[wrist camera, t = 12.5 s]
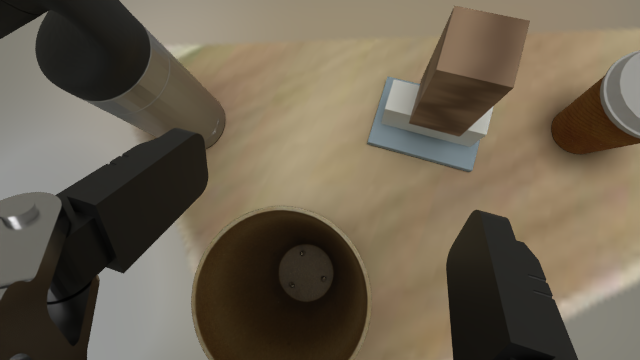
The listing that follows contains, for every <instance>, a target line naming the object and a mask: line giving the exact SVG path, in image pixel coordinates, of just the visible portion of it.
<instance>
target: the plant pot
mask: <svg viewBox="0 0 640 360" xmlns="http://www.w3.org/2000/svg"><path fill="white" fill-rule="evenodd" d="M301 252H303V255H301ZM323 277H325V278H326V279H323ZM292 284H294V287H291V285H292ZM191 298H192V299H191V307H192V316H193V322H194V327H195V331H196V334H197V337H198V340H199V342H200V345H201V347H202V348H203V351H204V353H205V354H206V356H207V357H208V359H209V360H354V359H355V357H356V356H357V354H358V352H359V350H360V349H361V347H362V344H363V342H364V340H365V337H366V334H367V331H368V327H369V322H370V317H371V300H372V298H371V288H370V282H369V278H368V274H367V271H366V268H365V266H364V263H363V261H362V258H361V256H360V254H359V253H358V251H357V249H356V248H355V246H354V245H353V243H352V242H351V241H350V239H349V238H348V237H347V236H346V235H345V234H344V233H343V232H342V231H341V230H340V229H339V228H338V227H337V226H336V225H334V224H333V223H332V222H330V221H329V220H327V219H325V218H324V217H322V216H320V215H318V214H316V213H314V212H311V211H308V210H305V209H301V208H296V207H289V206H274V207H267V208H262V209H258V210H255V211H252V212H250V213H247V214H245V215H243V216H241V217H239V218H238V219H236V220H234V221H233V222H231V223H230V224H229V225H227V226H226V227H225V228H224V229H223V230H222V231H221V232H220V233H219V234H218V235H217V236H216V237H215V238H214V239H213V241H212V242H211V243H210V245H209V246H208V248H207V249H206V251H205V253H204V254H203V256H202V258H201V260H200V263H199V265H198V268H197V271H196V274H195V278H194V282H193V287H192V297H191Z"/></svg>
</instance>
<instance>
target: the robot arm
mask: <svg viewBox="0 0 640 360" xmlns="http://www.w3.org/2000/svg"><path fill="white" fill-rule="evenodd" d="M47 11H48V13H47V15H46V16H45V18H44V20H43V21H42V24H41V26H40V28H39V31H38V34H37V38H36V48H35V49H36V57H37V61H38V64H39V66H40V69H41V71H42V72H43V74H44V75H45V76H46V77H47V78H48V79H49V80H50V81H51V82H52V83H54V84H55V85H56V86H58V87H59V88H61V89H63V90H65V91H66V92H68V93H71V94H72V95H75V96H76V97H79V98H81V99H83V100H85V101H87V102H89V103H91V104H93V105H95V106H97V107H99V108H100V109H102V110H104V111H107V112H109V113H111V114H113V115H115V116H117V117H118V118H121V119H123V120H124V121H126V122H128V123H130V124H132V125H134V126H136V127H138V128H140V129H142V130H144V131H146V132H148V133H150V134H152V135H153V136H155V137H157V139H154V140H151V141H148V142H145V143H142V144H139V145H137V146H135V147H133V148H132V149H130V150H129V151H127V152H125V153H124V154H123V155H122V157H121V156H119V157H117V158H116V159H114V160H112V161H111V162H110V164H106V165H104V166H102V167H101V168H99V169H98V170H96V171H94V172H93V173H91V174H89V175H88V176H86V177H85V178H83V179H81V180H80V181H78V182H76V183H75V184H73V185H72V186H70V187H68V188H67V189H65V190H64V191H62V192H60V193H59V194H57V195H53V194H50V193H42V192H35V193H25V194H20V195H15V196H13V197H9V198H6V199H3V200H1V201H0V360H87V348H88V342H89V337H90V331H91V326H92V321H93V315H94V309H95V304H96V299H97V294H98V288H99V281H100V280H99V276H98V274H99V273H100V272H101V271H102V270H103V269H104V268H105V267H107V268H110V269H113V270H115V271H118V272H121V273H124V272H125V271H126V270H127V269H128V268H129V267H130V266H131V265H132V264H133V263H134V262H135V261H136V260H137V259H138V258H139V257H140V256H141V255H142V254H143V253H144V252H145V251H146V250H147V249H148V248H149V247H150V246H151V245H152V244H153V243H154V242H155V241H156V240H157V239H158V238H159V237H160V236H161V235H162V234H163V233H164V232H165V231H166V230H167V229H168V228H169V227H170V226H171V225H172V224H173V223H174V222H175V221H176V220H177V219H178V218H179V217H180V216H181V215H182V214H183V213H184V212H185V211H186V210H187V209H188V208H189V207H190V205H191V204H192V203H193V202H194V201H195V200H196V199H197V198H198V197H199V196H200V195H201V194H202V193H203V192H204V190H205V188H206V185H207V182H208V169H207V160H206V150H205V149H206V148H208V147H210V146H211V145H213V144H214V143H215V142H216V141H217V140H218V139H219V137H220V135H221V134H222V132H223V129H224V126H225V113H224V111H223V108H222V106H221V105H220V103H219V102H218V101H217V100H216V99H215V98H214V97H213V96H212V95H211V94H210V93H209V92H208V91H207V90H206V89H205V88H204V87H203V86H202V85H201V83H200V82H199V81H198V80H197V79H196V78H195V77H194V76H193V75H192V74H191V73H190V72H189V71H188V70H187V69H186V68H185V67H184V66H183V65H182V64H181V63H180V62H179V61H178V60H177V59H176V58H175V57H174V56H173V55H172V54H171V53H170V52H169V51H168V50H167V49H166V48H165V47H164V46H163V45H162V44H161V43H160V42H159V41H158V40H157V39H156V38H155V37H154V36H153V35H152V34H151V33H150V32H149V31H148V30H147V29H146V28H145V27H144V26H143V25H142V24H141V23H140V22H139V21H138V20H137V19H136V18H135V17H134V16H133V15H132V14H131V13H130V12H129V11H128V10H127V9H126V7H125V6H124V5H123V4H122V3H121V2H120V1H119V0H0V39H1V38H3V37H5V36H6V35H8V34H10V33H12V32H13V31H15V30H17V29H18V28H20V27H22V26H24V25H25V24H27V23H29V22H30V21H32V20H34V19H36V18H37V17H39V16H40V15H42V14H43V13H45V12H47ZM446 271H447V284H448V297H449V310H450V323H451V335H452V348H453V360H578V358H577V356H576V353H575V350H574V348H573V345H572V343H571V341H570V338H569V335H568V333H567V330H566V328H565V325H564V323H563V320H562V318H561V315H560V313H559V310H558V308H557V305H556V303H555V300H554V299H552V296H553V295H552V293H551V290H550V288H549V285H548V283H546V282H545V281H546V278H545V275H544V272H543V270H542V267H541V265H540V262H539V260H538V259H537V258H536V257H535V255H534V254H533V253H532V252H531V251H530V249H529V248H528V247H527V246H526V245H525V243H524V242H520V241H516V239H515V236H514V233H513V230H512V227H511V224H510V222H509V220H508V219H507V218H506V217H502V216H498V215H495V214H491V213H487V212H484V211H480V210H474V211H473V212H472V213H471V215H470V216H469V218H468V219H467V221H466V223H465V225H464V226H463V228H462V230H461V231H460V233H459V235H458V236H457V238H456V240H455V242H454V243H453V245H452V247H451V249H450V251H449V254H448V258H447V264H446Z"/></svg>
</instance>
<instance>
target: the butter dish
mask: <svg viewBox="0 0 640 360" xmlns="http://www.w3.org/2000/svg"><path fill="white" fill-rule="evenodd" d="M419 86H420V84H417V83H413V82H408V81H404V80H400V79H396V78H392V77H387V81H386V84H385V87H384V90H383V94H382V97H381V100H380V103H379V107H378V110H377V113H376V116H375V120H374V123H373V126H372V129H371V133H370V136H369V139H368V143H367V144H369V145H373V146H376V147H380V148H384V149H387V150H391V151H394V152H398V153H402V154H405V155H409V156H413V157H416V158H420V159H423V160H427V161H431V162H434V163H438V164H442V165H445V166H449V167H452V168H456V169H460V170H463V171H467V172H471V171H472V170H473V166H474V162H475V158H476V154H477V150H478V146H479V142H480V139H481V138H483V137H484V136H485V135H487V130H488V126H489V122H490V118H491V114H492V110H493V107H492V108H491V109H490V110H488V111H487V112H486V113H485V114H484V115H483V116H482V117H481V118H480V119H479V120H477V121H476V122H475V123H474V124H473V125H472V126H471V127H470V128H469V129H468V130H467V131H465V132H464V133H463V134H462V135H461V136H460V137H458V136H455V135H451V134H447V133H443V132H439V131H436V130H432V129H428V128H424V127H420V126H417V125H413V124H409V120H410V117H411V114H412V110H413V107H414V103H415V100H416V97H417V93H418V90H419Z"/></svg>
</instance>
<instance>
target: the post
mask: <svg viewBox="0 0 640 360" xmlns="http://www.w3.org/2000/svg"><path fill="white" fill-rule="evenodd" d="M529 22H530V21H528V20H523V19H518V18H513V17H507V16H503V15H498V14H493V13H487V12H483V11H478V10H473V9H468V8H463V7H458V6H454V9H453V11H452V13H451V15H450V17H449V20H448V22H447V24H446V26H445V28H444V31H443V33H442V35H441V37H440V39H439V41H438V44H437V46H436V48H435V50H434V53H433V55H432V57H431V59H430V61H429V64H428V66H427V68H426V70H425V73H424V75H423V77H422V79H421V83H420V86H419V90H418V93H417V97H416V100H415V103H414V107H413V110H412V114H411V117H410V120H409V124H413V125H417V126H420V127H424V128H428V129H432V130H436V131H439V132H443V133H447V134H451V135H455V136H458V137H460V136H461V135H462V134H463V133H464V132H465V131H467V130H468V129H469V128H470V127H471V126H472V125H473V124H474V123H475V122H476V121H477V120H479V119H480V118H481V117H482V116H483V115H484V114H485V113H486V112H487V111H488V110H490V109H491V108H492V107H493V106H494V105H495V104H496V103H497V102H498V101H499V100H501V99H502V98H503V97H504V96H505V95H506V94H507V93H508V92H509V91H510V90H512V89H513V88H514V84H515V80H516V76H517V72H518V68H519V63H520V59H521V55H522V51H523V47H524V43H525V39H526V35H527V31H528V27H529Z"/></svg>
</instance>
